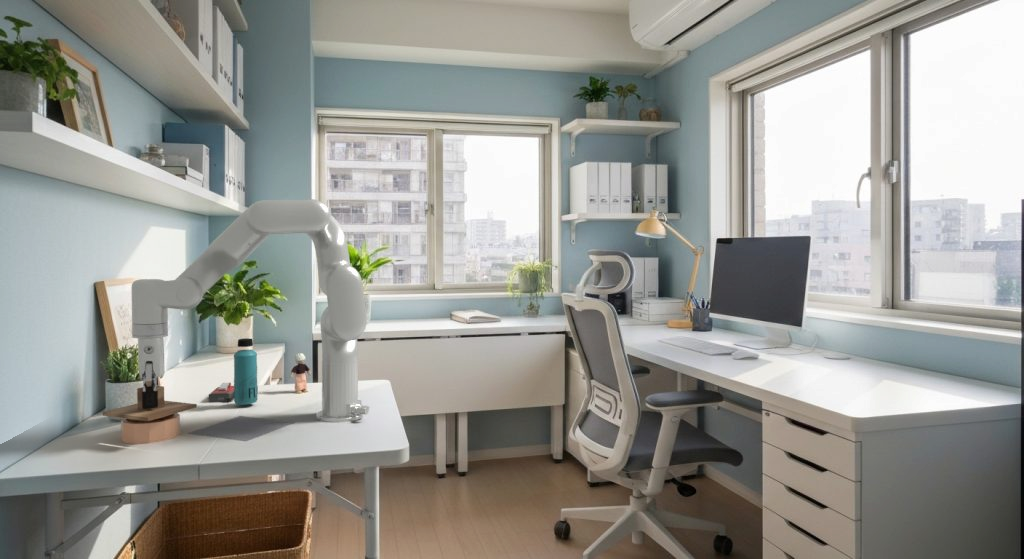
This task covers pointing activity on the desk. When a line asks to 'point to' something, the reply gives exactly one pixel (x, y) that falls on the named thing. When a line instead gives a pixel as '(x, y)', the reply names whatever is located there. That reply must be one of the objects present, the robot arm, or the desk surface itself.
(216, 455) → the desk surface
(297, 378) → the grandmother figurine
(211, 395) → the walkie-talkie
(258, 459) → the desk surface
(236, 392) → the beverage bottle
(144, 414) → the lid
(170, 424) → the bowl
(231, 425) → the mat
